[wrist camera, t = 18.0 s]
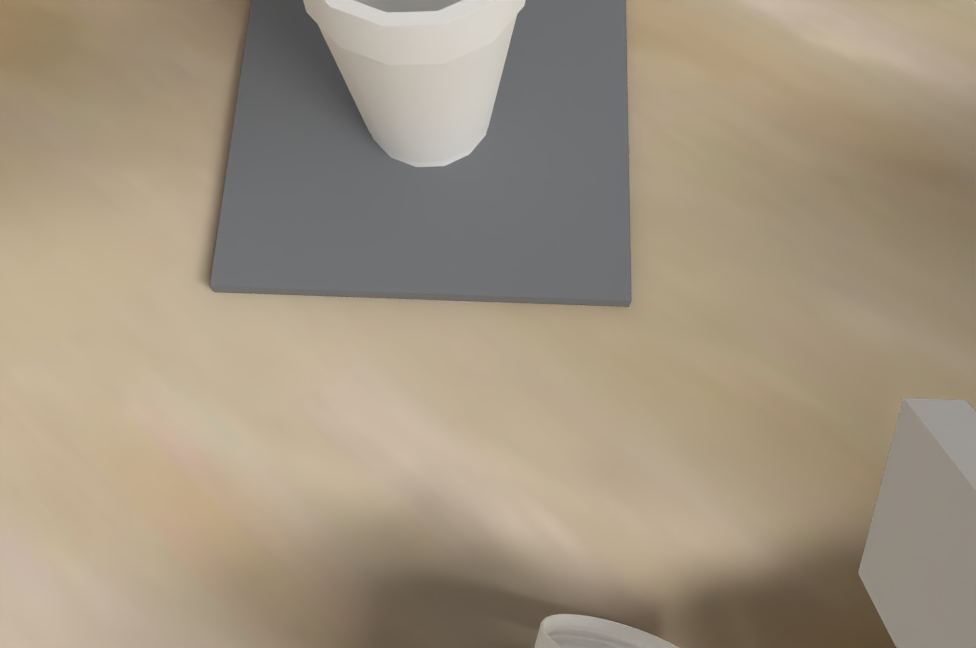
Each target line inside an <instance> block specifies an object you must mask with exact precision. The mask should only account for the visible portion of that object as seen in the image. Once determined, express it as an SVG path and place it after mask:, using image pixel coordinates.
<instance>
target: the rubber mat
mask: <svg viewBox="0 0 976 648" xmlns="http://www.w3.org/2000/svg"><path fill="white" fill-rule="evenodd" d="M210 287H211V288H212V290H213V291H214V292H228V293H256V294H285V295H313V296H341V297H370V298H398V299H427V300H455V301H483V302H512V303H540V304H568V305H597V306H625V307H629V305H630V303H631V252H630V198H629V145H628V92H627V38H626V0H525V5H524V7H523V8H522V9H521V10H520V11H519V13H518V14H517V17H516V21H515V25H514V29H513V32H512V36H511V40H510V44H509V48H508V52H507V56H506V60H505V64H504V68H503V72H502V75H501V79H500V83H499V87H498V91H497V95H496V99H495V103H494V107H493V111H492V115H491V118H490V122H489V126H488V129H487V132H486V135H485V137H484V138H483V139H482V140H481V141H480V142H479V144H478V145H477V146H476V147H475V148H474V150H473V151H472V152H471V153H470V154H469V155H467V156H465V157H463V158H461V159H459V160H457V161H454V162H452V163H450V164H448V165H446V166H435V167H414V166H412V165H409V164H407V163H404V162H402V161H399V160H396V159H394V158H391V157H390V156H389V155H388V154H387V153H386V152H385V151H384V150H383V149H382V148H381V147H380V146H379V145H378V144H377V142H376V141H375V140H374V139H373V138H372V135H371V134H370V132H369V130H368V128H367V126H366V124H365V122H364V120H363V118H362V116H361V114H360V112H359V110H358V107H357V105H356V103H355V101H354V99H353V97H352V95H351V93H350V91H349V89H348V87H347V84H346V82H345V80H344V78H343V76H342V74H341V72H340V70H339V68H338V66H337V64H336V61H335V59H334V57H333V55H332V53H331V51H330V49H329V47H328V45H327V43H326V41H325V39H324V36H323V34H322V32H321V30H320V28H319V26H318V24H317V23H316V22H315V21H314V20H313V19H312V18H311V17H310V15H309V14H308V13H307V12H306V9H305V5H304V2H303V0H251V7H250V13H249V20H248V27H247V34H246V41H245V48H244V54H243V61H242V68H241V75H240V82H239V89H238V96H237V102H236V109H235V116H234V123H233V130H232V137H231V143H230V150H229V157H228V164H227V171H226V178H225V184H224V191H223V198H222V205H221V212H220V219H219V226H218V232H217V239H216V246H215V253H214V260H213V267H212V273H211V280H210Z"/></svg>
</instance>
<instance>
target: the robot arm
mask: <svg viewBox="0 0 976 648" xmlns="http://www.w3.org/2000/svg"><path fill="white" fill-rule="evenodd" d="M858 574H859V576H860V578H861V580H862V582H863V584H864V586H865V588H866V590H867V592H868V594H869V595H870V597H871V599H872V601H873V603H874V605H875V607H876V609H877V611H878V613H879V615H880V617H881V619H882V621H883V623H884V625H885V627H886V629H887V631H888V633H889V635H890V637H891V639H892V640H893V642H894V644H895V646H896V648H976V411H975V410H974V408H973V407H972V406H971V405H970V404H969V403H968V402H967V401H966V400H954V399H926V398H903V402H902V406H901V410H900V414H899V418H898V421H897V425H896V429H895V433H894V437H893V441H892V445H891V448H890V452H889V456H888V460H887V464H886V468H885V472H884V475H883V479H882V483H881V487H880V491H879V495H878V499H877V502H876V506H875V510H874V514H873V518H872V522H871V526H870V529H869V533H868V537H867V541H866V545H865V549H864V553H863V556H862V560H861V564H860V568H859V572H858Z"/></svg>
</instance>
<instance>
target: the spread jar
mask: <svg viewBox="0 0 976 648" xmlns="http://www.w3.org/2000/svg"><path fill="white" fill-rule="evenodd" d="M534 648H679V647H677V646H675V645H674V644H672V643H670V642H668V641H665V640H663V639H661V638H659V637H657V636H654V635H652V634H649V633H647V632H645V631H642V630H639V629H636V628H633V627H631V626H628V625H624V624H621V623H617V622H614V621H610V620H606V619H602V618H597V617H592V616H586V615H577V614H556V615H551V616H548V617H546V618H544V619H543V621H542V622H541V624H540V628H539V632H538V635H537V639H536V643H535V647H534Z"/></svg>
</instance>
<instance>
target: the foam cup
mask: <svg viewBox="0 0 976 648" xmlns="http://www.w3.org/2000/svg"><path fill="white" fill-rule="evenodd" d="M303 2H304V5H305V9H306V12H307V13H308V14H309V15H310V17H311V18H312V19H313V20H314V21H315V22H316V23H317V24H318V26H319V28H320V30H321V32H322V34H323V36H324V39H325V41H326V43H327V45H328V47H329V49H330V51H331V53H332V55H333V57H334V59H335V61H336V64H337V66H338V68H339V70H340V72H341V74H342V76H343V78H344V80H345V82H346V84H347V87H348V89H349V91H350V93H351V95H352V97H353V99H354V101H355V103H356V105H357V107H358V110H359V112H360V114H361V116H362V118H363V120H364V122H365V124H366V126H367V128H368V130H369V132H370V134H371V135H372V138H373V139H374V140H375V141H376V142H377V144H378V145H379V146H380V147H381V148H382V149H383V150H384V151H385V152H386V153H387V154H388V155H389V156H390V157H391V158H394V159H396V160H399V161H402V162H404V163H407V164H409V165H412V166H414V167H435V166H446V165H448V164H450V163H452V162H454V161H457V160H459V159H461V158H463V157H465V156H467V155H469V154H470V153H471V152H472V151H473V150H474V148H475V147H476V146H477V145H478V144H479V142H480V141H481V140H482V139H483V138H484V137H485V135H486V132H487V129H488V126H489V122H490V118H491V115H492V111H493V107H494V103H495V99H496V95H497V91H498V87H499V83H500V79H501V75H502V72H503V68H504V64H505V60H506V56H507V52H508V48H509V44H510V40H511V36H512V32H513V29H514V25H515V21H516V17H517V14H518V13H519V11H520V10H521V9H522V8H523V7H524V5H525V0H303Z"/></svg>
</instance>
